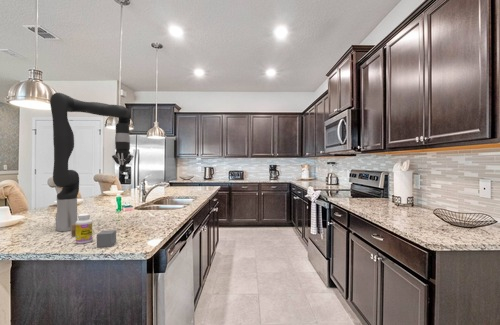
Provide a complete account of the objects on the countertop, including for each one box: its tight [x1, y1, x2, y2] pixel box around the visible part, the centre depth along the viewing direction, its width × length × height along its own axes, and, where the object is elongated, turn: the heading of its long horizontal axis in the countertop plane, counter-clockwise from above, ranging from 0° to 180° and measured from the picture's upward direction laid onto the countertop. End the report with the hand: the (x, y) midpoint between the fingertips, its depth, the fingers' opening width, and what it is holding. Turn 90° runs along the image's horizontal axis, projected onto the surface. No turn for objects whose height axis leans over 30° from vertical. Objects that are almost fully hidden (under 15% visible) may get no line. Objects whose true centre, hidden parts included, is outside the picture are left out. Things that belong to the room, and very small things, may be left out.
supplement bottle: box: [75, 213, 93, 245], centre depth 118 cm, size 7×7×13 cm
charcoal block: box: [96, 229, 117, 249], centre depth 114 cm, size 6×6×6 cm
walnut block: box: [71, 223, 76, 238], centre depth 130 cm, size 6×6×6 cm
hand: (122, 171), depth 144 cm, fingers closed
